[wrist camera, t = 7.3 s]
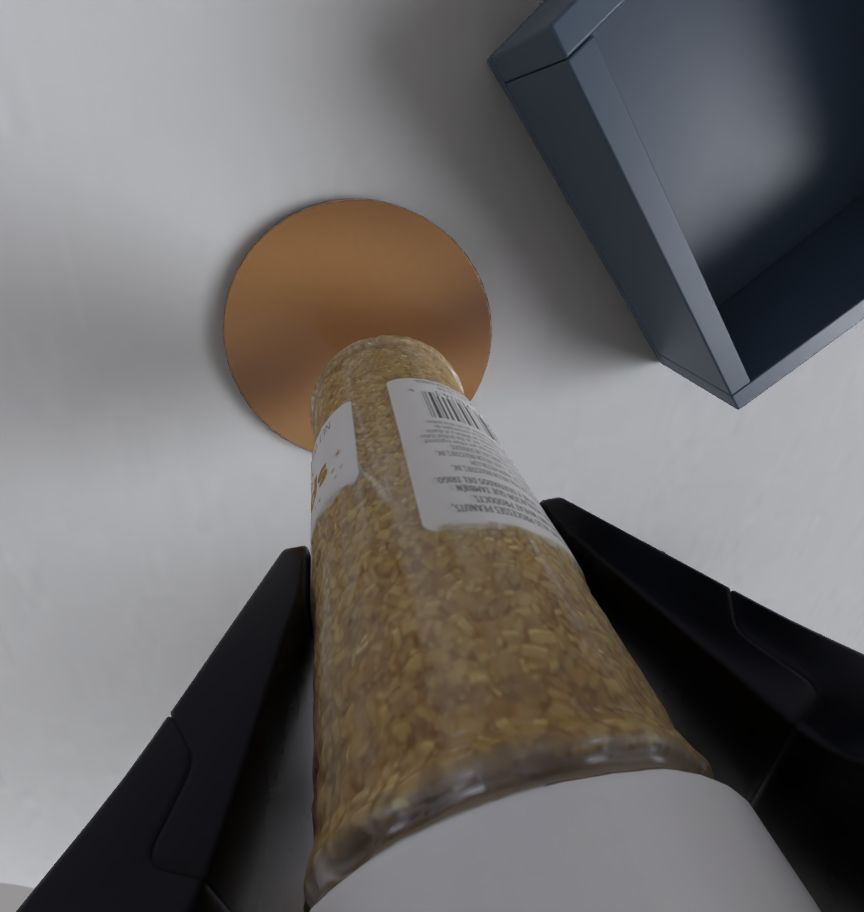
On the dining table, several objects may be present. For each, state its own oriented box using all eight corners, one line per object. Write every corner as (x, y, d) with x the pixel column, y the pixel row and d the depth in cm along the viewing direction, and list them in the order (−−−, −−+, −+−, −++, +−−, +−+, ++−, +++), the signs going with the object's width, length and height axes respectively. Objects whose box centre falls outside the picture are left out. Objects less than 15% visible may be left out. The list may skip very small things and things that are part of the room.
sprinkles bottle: (276, 391, 14) (57, 1501, 2) (411, 296, 13) (1007, 1165, 2) (371, 496, 16) (494, 1294, 5) (489, 420, 15) (957, 1124, 4)
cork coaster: (521, 389, 21) (524, 393, 21) (320, 491, 22) (320, 497, 22) (424, 140, 16) (426, 139, 16) (161, 287, 17) (158, 289, 16)
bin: (907, 169, 20) (1063, 173, 15) (660, 363, 22) (738, 410, 18) (834, -296, 13) (1081, -511, 9) (486, 60, 15) (548, 25, 11)
